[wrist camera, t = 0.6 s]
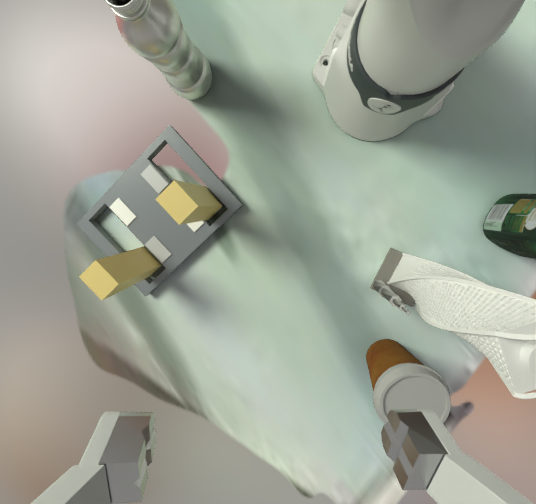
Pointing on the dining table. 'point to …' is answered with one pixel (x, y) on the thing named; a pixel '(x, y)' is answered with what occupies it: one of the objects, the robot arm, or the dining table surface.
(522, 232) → the coffee jar
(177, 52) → the plastic bottle
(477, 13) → the robot arm
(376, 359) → the disposable coffee cup
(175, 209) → the yellow rectangular block
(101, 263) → the yellow bar
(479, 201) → the dining table surface
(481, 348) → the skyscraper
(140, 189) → the switch bank
